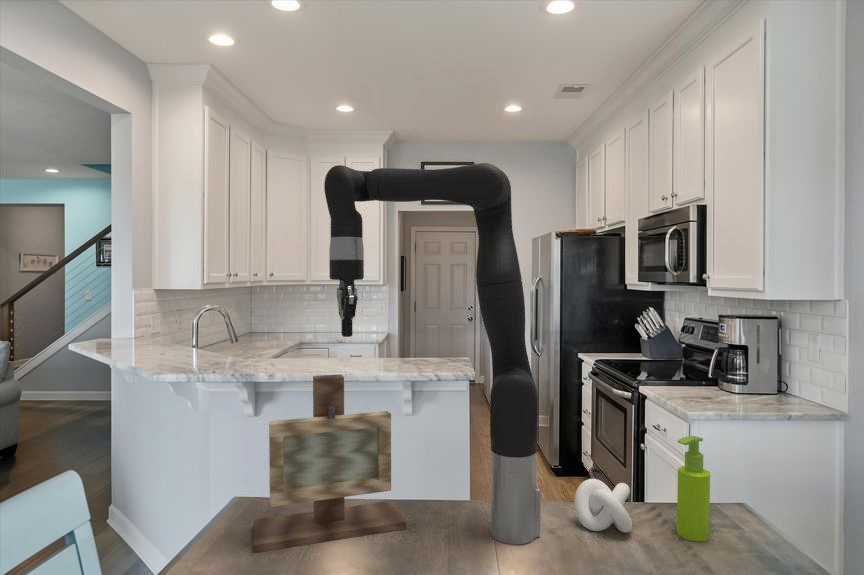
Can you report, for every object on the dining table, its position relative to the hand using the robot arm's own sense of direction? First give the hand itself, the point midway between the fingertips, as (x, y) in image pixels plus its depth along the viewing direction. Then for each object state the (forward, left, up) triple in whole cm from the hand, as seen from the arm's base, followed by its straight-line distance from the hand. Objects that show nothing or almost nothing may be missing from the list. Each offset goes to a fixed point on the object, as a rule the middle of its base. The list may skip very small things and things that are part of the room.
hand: (346, 336), depth 119 cm
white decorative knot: (-50, +26, -39) cm, 69 cm away
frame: (+5, +11, -31) cm, 33 cm away
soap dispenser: (-64, +34, -39) cm, 82 cm away
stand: (+5, +8, -39) cm, 40 cm away
